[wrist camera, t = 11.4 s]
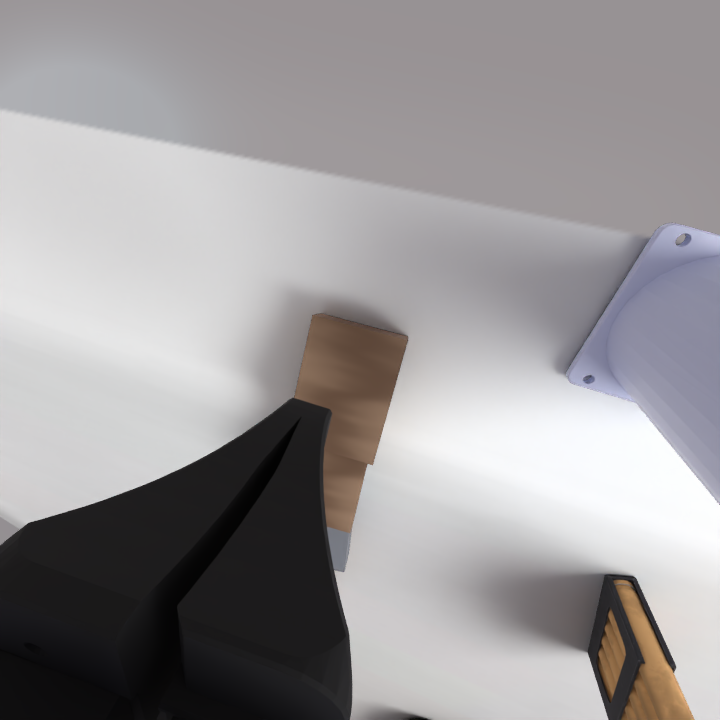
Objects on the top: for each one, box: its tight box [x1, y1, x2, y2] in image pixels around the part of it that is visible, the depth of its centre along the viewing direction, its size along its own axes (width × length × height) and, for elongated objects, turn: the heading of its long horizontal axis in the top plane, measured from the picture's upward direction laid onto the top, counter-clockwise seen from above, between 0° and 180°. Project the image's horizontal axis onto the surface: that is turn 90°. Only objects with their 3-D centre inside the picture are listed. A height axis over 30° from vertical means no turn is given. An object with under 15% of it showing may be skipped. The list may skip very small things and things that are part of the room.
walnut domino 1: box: [294, 313, 408, 465], centre depth 20 cm, size 5×2×7 cm
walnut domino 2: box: [323, 451, 367, 533], centre depth 22 cm, size 5×2×7 cm
